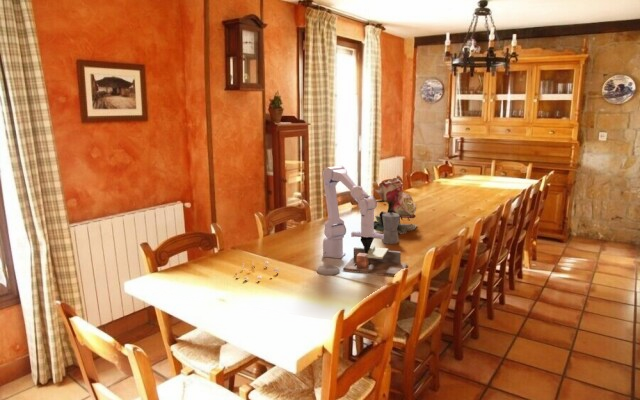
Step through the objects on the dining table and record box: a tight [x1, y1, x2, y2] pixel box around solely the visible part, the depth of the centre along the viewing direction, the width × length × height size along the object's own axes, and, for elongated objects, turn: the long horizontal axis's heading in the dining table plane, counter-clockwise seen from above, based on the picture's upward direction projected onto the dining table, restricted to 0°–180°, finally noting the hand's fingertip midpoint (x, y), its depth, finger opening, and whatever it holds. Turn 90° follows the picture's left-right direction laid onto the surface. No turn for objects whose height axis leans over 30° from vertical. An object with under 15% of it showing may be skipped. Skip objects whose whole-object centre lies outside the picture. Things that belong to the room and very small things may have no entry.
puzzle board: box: [342, 247, 408, 277], centre depth 207 cm, size 26×15×7 cm, turn 70°
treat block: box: [356, 253, 369, 268], centre depth 209 cm, size 4×4×6 cm
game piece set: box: [235, 260, 279, 280], centre depth 202 cm, size 19×20×4 cm
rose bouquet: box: [374, 177, 418, 235], centre depth 274 cm, size 26×29×30 cm
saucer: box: [316, 264, 341, 276], centre depth 204 cm, size 10×10×1 cm
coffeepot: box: [378, 209, 401, 245], centre depth 247 cm, size 15×9×18 cm, turn 33°
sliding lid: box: [366, 245, 389, 259], centre depth 206 cm, size 7×13×2 cm, turn 160°
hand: (367, 253), depth 208 cm, fingers closed
